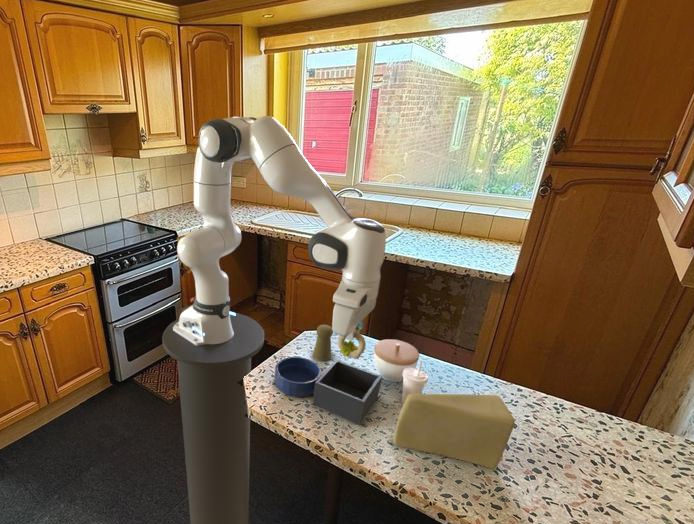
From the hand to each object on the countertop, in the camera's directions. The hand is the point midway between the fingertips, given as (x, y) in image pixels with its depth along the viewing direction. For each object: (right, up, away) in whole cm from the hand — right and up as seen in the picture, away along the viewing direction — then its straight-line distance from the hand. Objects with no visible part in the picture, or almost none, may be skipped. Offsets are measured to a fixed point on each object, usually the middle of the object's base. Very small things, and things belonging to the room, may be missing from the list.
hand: (352, 336), depth 103 cm
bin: (+1, -19, +9) cm, 21 cm away
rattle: (+1, -5, +3) cm, 6 cm away
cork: (-2, -9, +30) cm, 31 cm away
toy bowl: (-12, -15, +16) cm, 25 cm away
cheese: (+19, -27, -7) cm, 34 cm away
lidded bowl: (+18, -14, +20) cm, 30 cm away
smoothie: (+18, -19, +9) cm, 28 cm away
